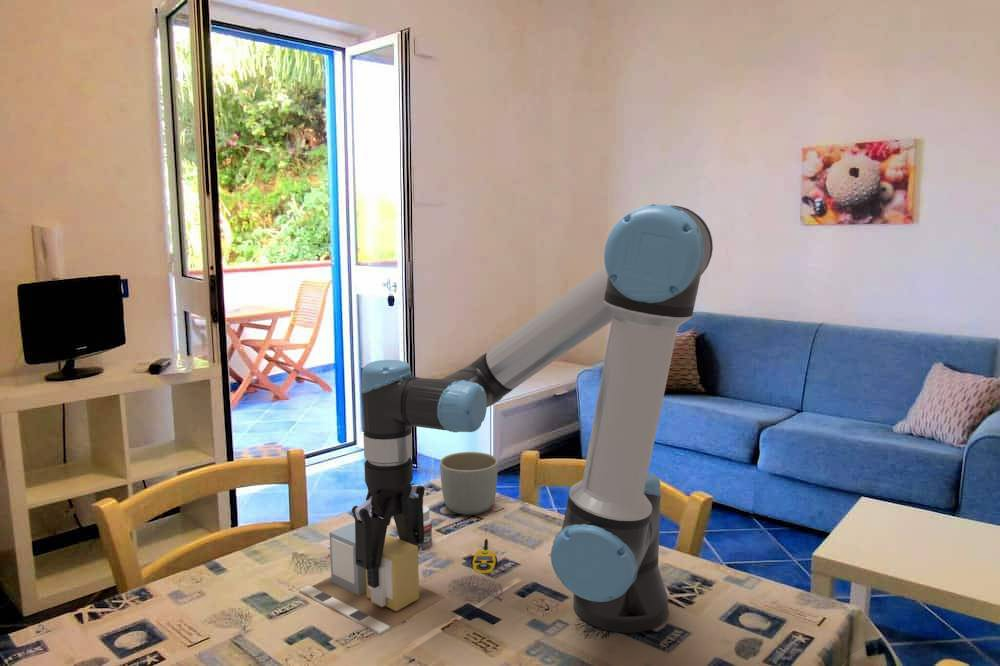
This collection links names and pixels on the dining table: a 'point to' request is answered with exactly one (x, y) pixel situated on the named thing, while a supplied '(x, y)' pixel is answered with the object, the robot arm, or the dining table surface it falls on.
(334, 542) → the slate box
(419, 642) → the dining table surface
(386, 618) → the shelf board
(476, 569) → the yellow walkie talkie
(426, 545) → the pill bottle
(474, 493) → the planter
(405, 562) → the tea box
